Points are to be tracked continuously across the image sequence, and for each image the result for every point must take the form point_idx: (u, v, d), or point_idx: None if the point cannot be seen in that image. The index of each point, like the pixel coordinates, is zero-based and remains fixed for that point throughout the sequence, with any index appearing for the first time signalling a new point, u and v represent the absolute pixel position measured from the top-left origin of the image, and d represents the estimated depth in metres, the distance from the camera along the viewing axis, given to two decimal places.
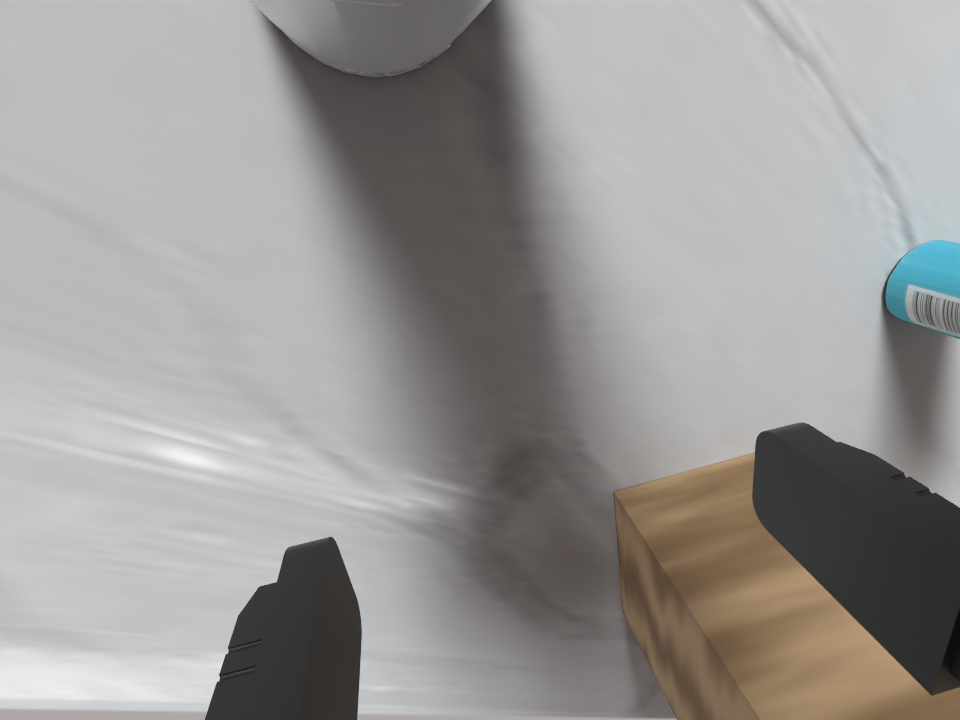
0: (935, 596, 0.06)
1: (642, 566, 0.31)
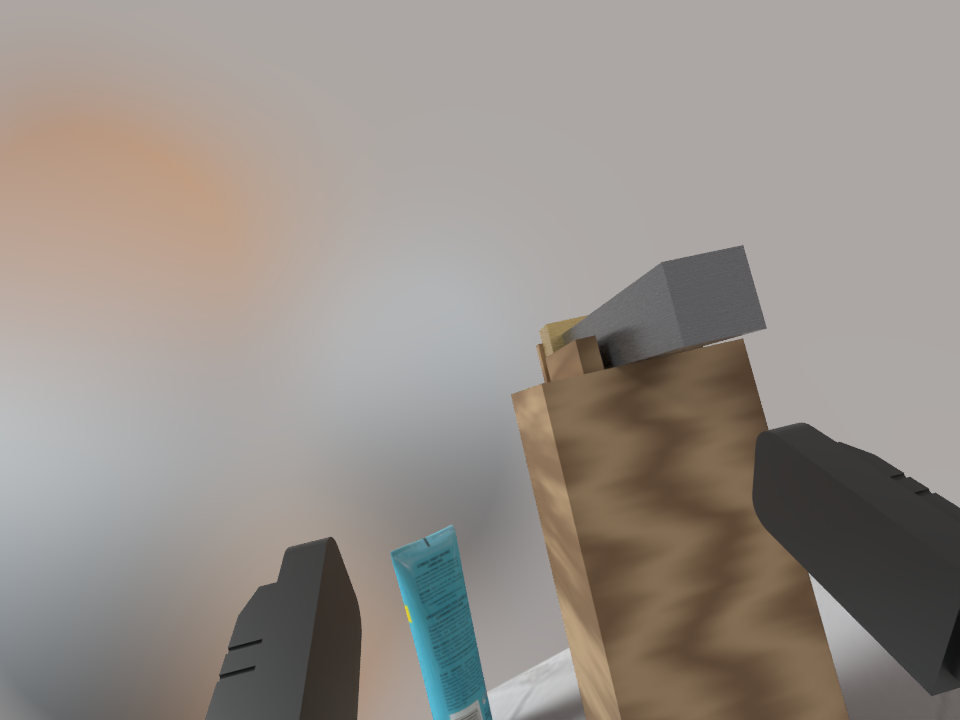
0: (935, 596, 0.06)
1: None
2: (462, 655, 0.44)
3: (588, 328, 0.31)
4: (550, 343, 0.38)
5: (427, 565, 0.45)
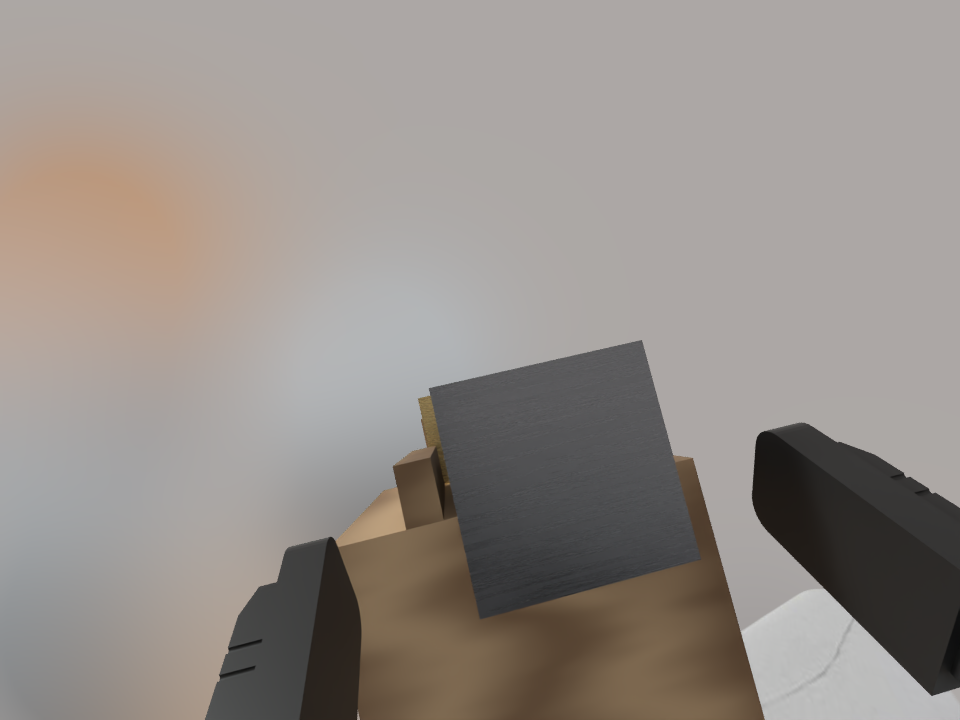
0: (935, 596, 0.06)
1: None
2: None
3: None
4: None
5: None
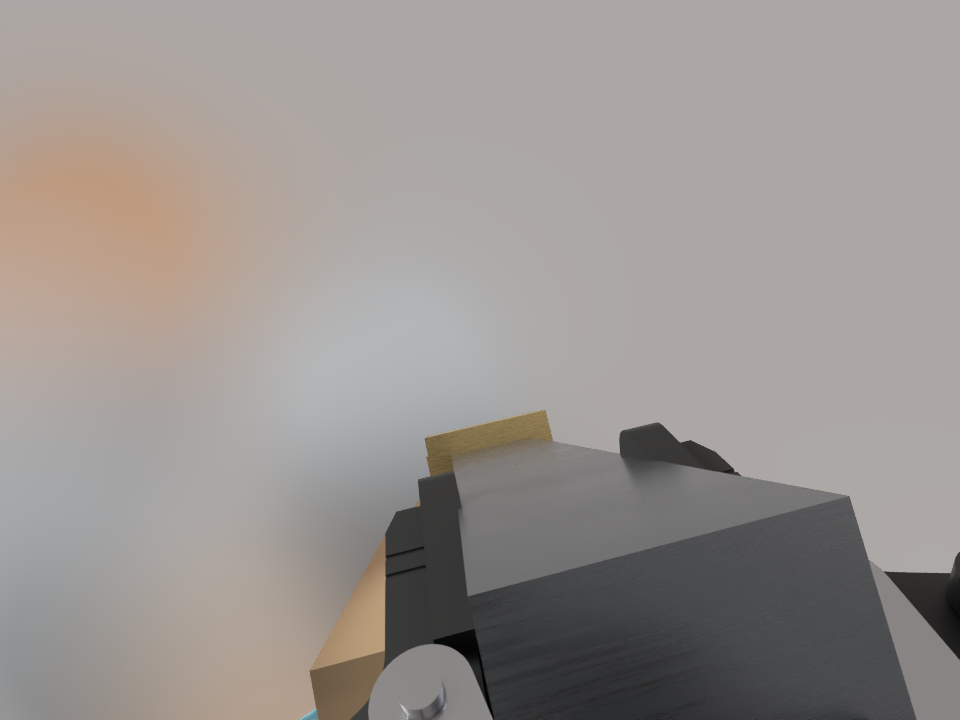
0: None
1: None
2: None
3: None
4: (432, 470, 0.22)
5: None
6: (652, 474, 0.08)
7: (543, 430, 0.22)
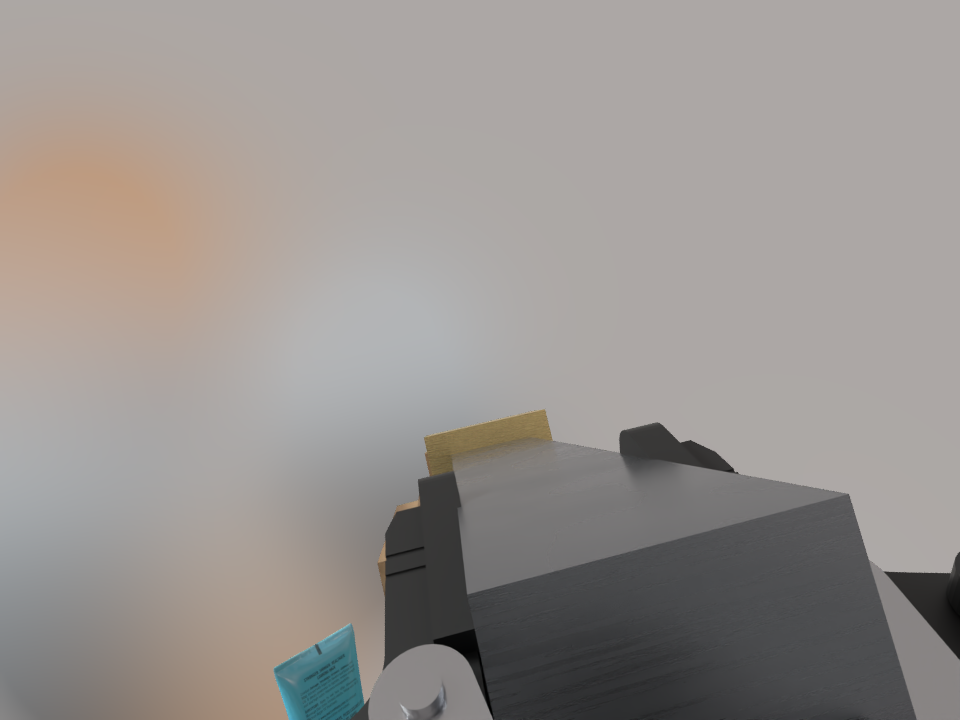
0: None
1: None
2: None
3: None
4: None
5: (317, 677, 0.42)
6: (652, 472, 0.08)
7: (543, 429, 0.22)
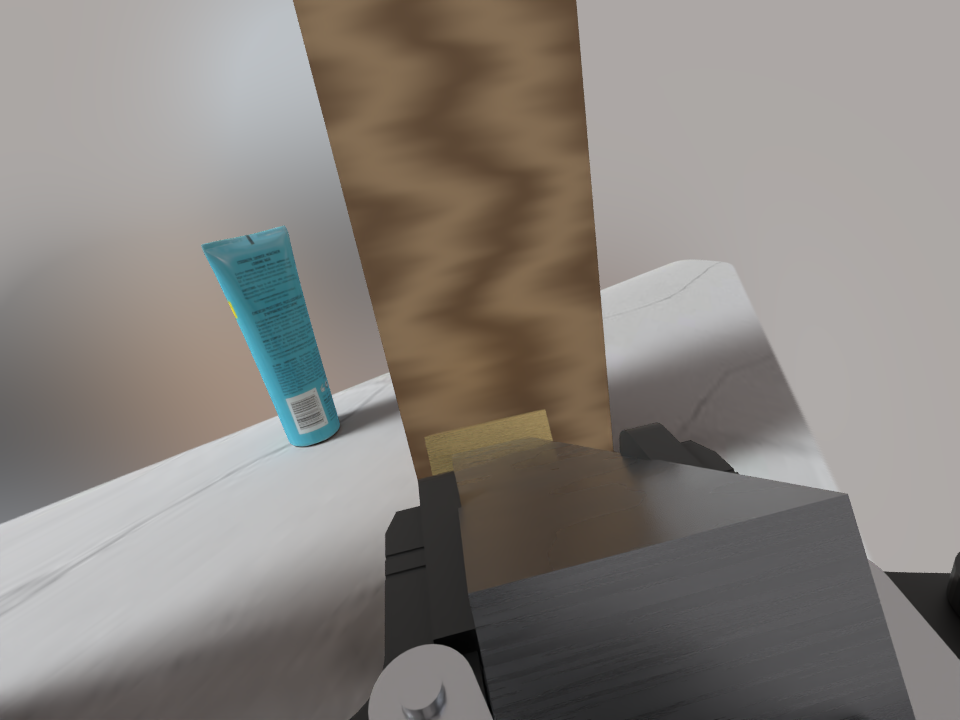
0: None
1: None
2: (296, 350, 0.44)
3: None
4: None
5: (251, 263, 0.41)
6: (652, 472, 0.08)
7: (543, 429, 0.22)
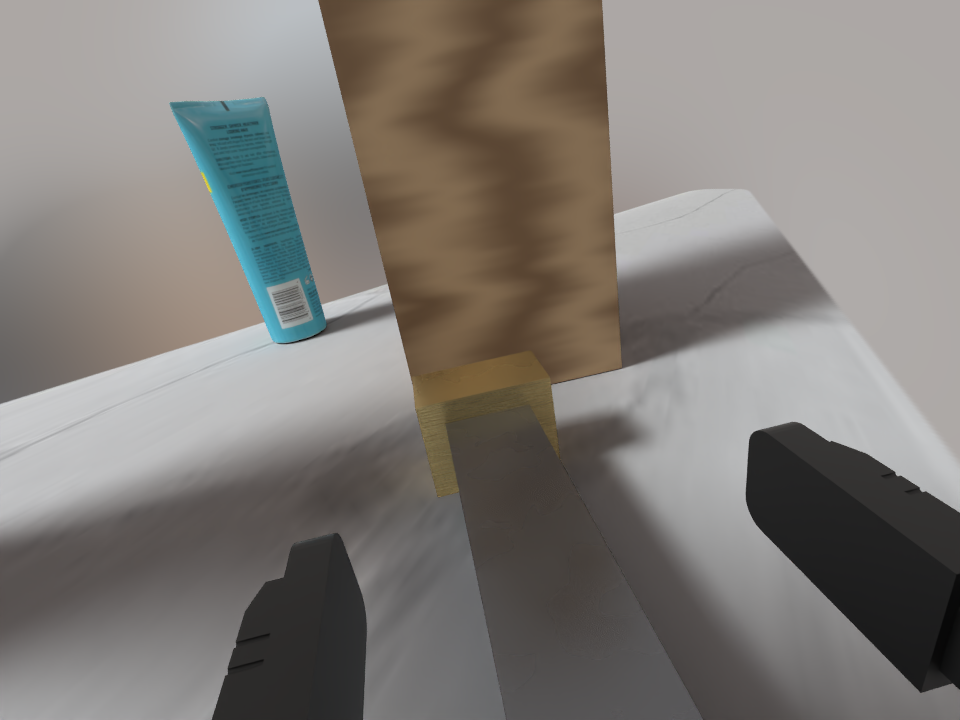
0: (924, 594, 0.06)
1: (457, 342, 0.27)
2: (277, 234, 0.41)
3: None
4: (423, 436, 0.21)
5: (226, 131, 0.38)
6: None
7: (545, 397, 0.21)
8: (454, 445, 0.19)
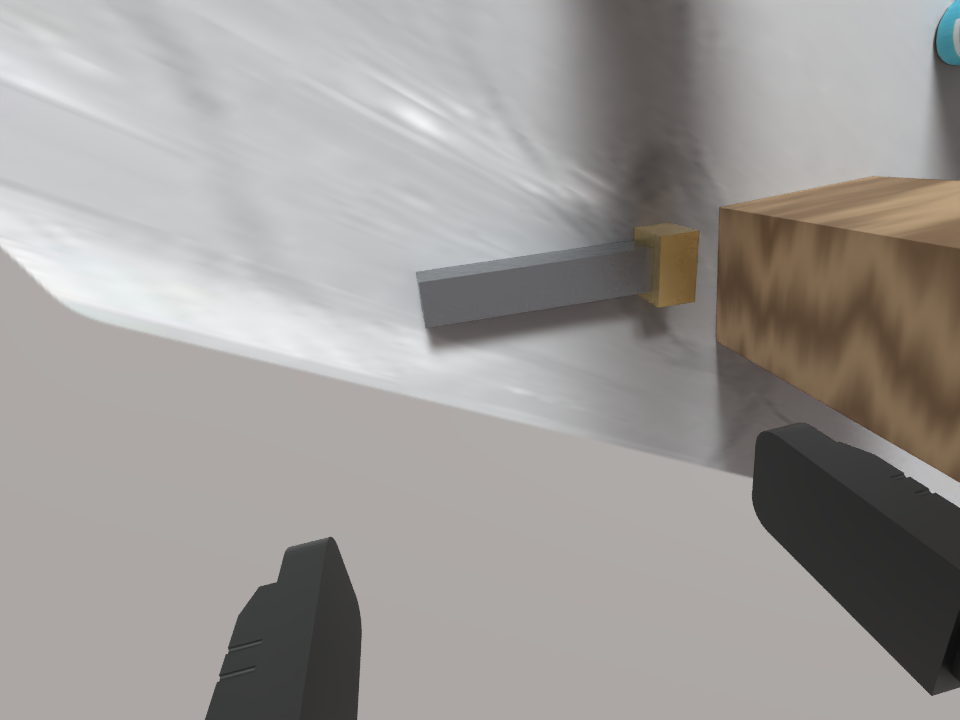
0: (935, 596, 0.06)
1: (747, 249, 0.39)
2: None
3: (567, 258, 0.38)
4: (654, 232, 0.38)
5: None
6: (465, 314, 0.38)
7: (653, 300, 0.40)
8: (632, 252, 0.38)
